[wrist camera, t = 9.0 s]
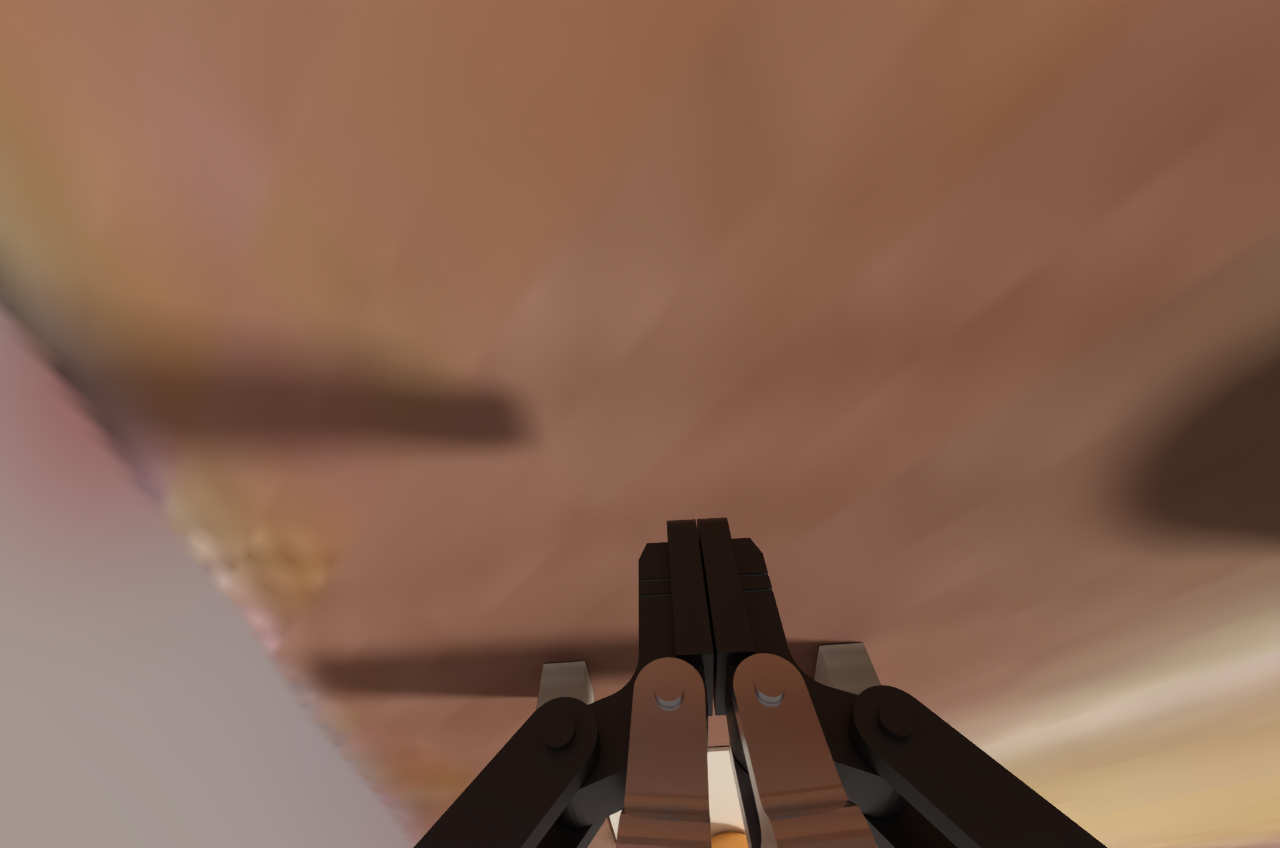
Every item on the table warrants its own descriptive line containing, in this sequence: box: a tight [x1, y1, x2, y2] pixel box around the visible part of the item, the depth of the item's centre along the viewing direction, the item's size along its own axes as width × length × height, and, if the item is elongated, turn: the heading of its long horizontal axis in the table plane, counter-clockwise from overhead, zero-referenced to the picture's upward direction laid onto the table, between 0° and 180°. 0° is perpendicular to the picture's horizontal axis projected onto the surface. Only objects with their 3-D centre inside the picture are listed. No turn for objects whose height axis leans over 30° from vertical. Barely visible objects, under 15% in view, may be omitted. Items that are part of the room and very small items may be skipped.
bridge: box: [536, 643, 881, 848], centre depth 20 cm, size 3×15×10 cm, turn 96°
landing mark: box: [609, 747, 746, 840], centre depth 32 cm, size 13×13×1 cm
